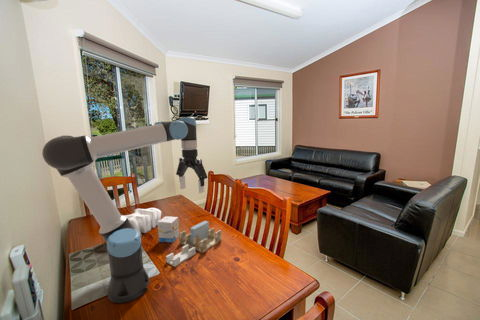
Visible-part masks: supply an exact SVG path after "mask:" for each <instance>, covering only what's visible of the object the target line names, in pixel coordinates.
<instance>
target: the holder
mask: <svg viewBox="0 0 480 320" xmlns="http://www.w3.org/2000/svg"><path fill="white" fill-rule="evenodd" d="M196 252H197V251H196V250H195V247H192V248H189V245H188V244H187V245H185V246H184V245H183V246H182V247H181V251H180V252H179V253H176V254H175V255H174V253H173V252H171V253H169V254H168V255H166V256H165V263H167V264H169V265H170V266H173V267H174V268H176V267H177V266H179V265H180V264H182V263H183V262H185V261H186V260H188V259H190V258H191V257H193V256H194V255H197V253H196Z"/></svg>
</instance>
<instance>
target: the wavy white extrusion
mask: <svg viewBox="0 0 480 320" xmlns="http://www.w3.org/2000/svg"><path fill="white" fill-rule="evenodd" d="M133 211H134V212H133V213H131V214H125V216H127V218H128V220H129V221H130V223H131V224H132V225H133V226H134V228H135V230H137V231H138V232H139V234H140V237H142V233H143V234H147V233H148V232H150V231H151V230H152V229H154V228H156V227H158V221H160V220H161V219H162V218H161V217H162V211H161V210H160V209H159V208H156V207H148V208H138V207H137V208H135V209H134V210H133Z"/></svg>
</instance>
